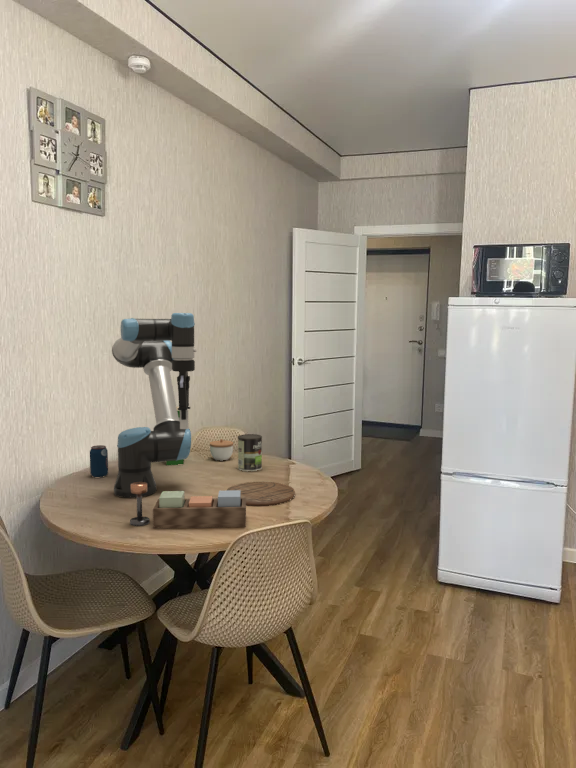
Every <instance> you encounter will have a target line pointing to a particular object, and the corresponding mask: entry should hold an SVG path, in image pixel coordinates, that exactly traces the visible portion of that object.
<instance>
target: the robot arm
mask: <svg viewBox="0 0 576 768" xmlns="http://www.w3.org/2000/svg"><path fill="white" fill-rule="evenodd" d="M170 317H171V318H134V317H131V318H124V319H122V320H121V322H120V338H118V339H117V340H116V341H115V342H114V343H113V345H112V348H111V354H112V356H113V358H114V360H115V361H116V362H117V363H119V364H120V365H121V366H124V367H128V368H133V369H135V368H137V369H139V368H140V369H141V368H143V369H142V370H143V373H144V374H145V375H147V376H148V381H149V387H150V392H151V399H152V405H153V411H154V418H155V425H154V426H153V428H152V429H153V430H151V428H150V427H148V426H138V427H132V428H129V429H125V430H122V431H121V432H120V433H119V434H118V435H117V445H116V446H117V467H118V469H117V470H118V471H117V475H116V479H115V482H114V486H113V495H114V496H117V497H121V498H129V499H130V498H132V499H133V498H137V494H132V493H131V484H132V483H135V482H146V483H147V492H146V493H143V494H142V498H143V497H147V496H150V495H153V494H155V493H156V492H157V483H156V480H155V477H154V475H153V471H152V463H160V462H161V463H162V462H166V461H175V460H176V461H177V460H182V459H184V460H185V459H187V458H188V457H190V456H189V455H190V453H191V448H192V432H191V430H190V429H191V428H190V427H189V410H191V406H190V403H189V398H190V397H189V396H190V381H191V376H190V375H189V372H194V371H195V369H196V366H195V363H196V362H195V361H196V360H195V353H196V352H197V349H196V348H195V324H196V323H195V316H194V314H193V313H191V312H174V313H172V314H171V316H170ZM171 371H173V372H178V376H177V377H176V382H177V383H176V384H177V392H178V395H177V396H178V406H177V402H176V397H175V391H174V386H173V381H172V377H171ZM177 407H179V408H178V410H180V420H179V418H178V412H177Z"/></svg>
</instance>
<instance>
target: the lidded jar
mask: <svg viewBox="0 0 576 768" xmlns="http://www.w3.org/2000/svg"><path fill="white" fill-rule="evenodd" d="M233 450H234V442H233V441H231V440H227V439H226V440H224V439H223V438H220V439H219V440H213V441H210V442H209V452H210V454H211V457H212V458H213V459H214V460H215V461H217V460H220V461H219V462H223V460H226V461H228V460H229V459H230V458H231V457H232V455H233V452H234V451H233Z"/></svg>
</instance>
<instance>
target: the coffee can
mask: <svg viewBox="0 0 576 768" xmlns="http://www.w3.org/2000/svg"><path fill="white" fill-rule="evenodd" d="M237 440H238V442H237V444H238V445H237V453H238V454H237V456H238V457H237V465H238V466H237V470H239V471H241V470H242V472H248V471H251V472H258V471H257V470H259V471H261V470H262V469H263V467H262V464H263V461H262V460H263V459H262V455H263V453H262V452H263V446H262V445H263V436H262V435H260V434H257V433H255V434H254V433H252V434H250V433H248V434H247V433H245V434H240V435H238V436H237ZM260 469H261V470H260Z"/></svg>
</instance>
